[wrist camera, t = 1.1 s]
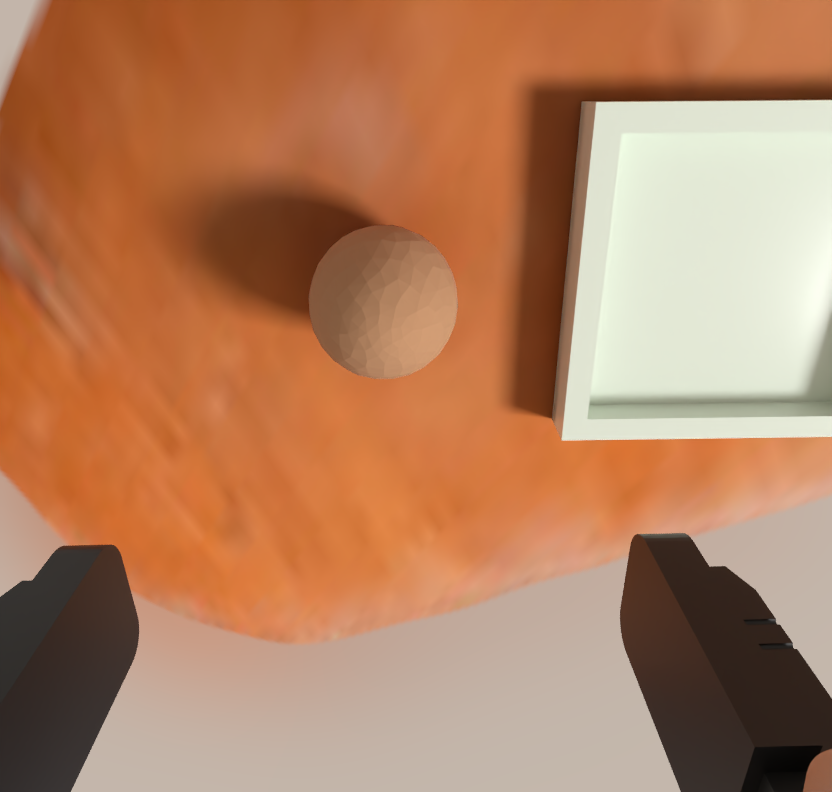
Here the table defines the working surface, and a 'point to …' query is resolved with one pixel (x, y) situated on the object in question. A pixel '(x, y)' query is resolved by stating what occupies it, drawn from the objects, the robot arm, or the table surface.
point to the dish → (698, 272)
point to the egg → (383, 302)
